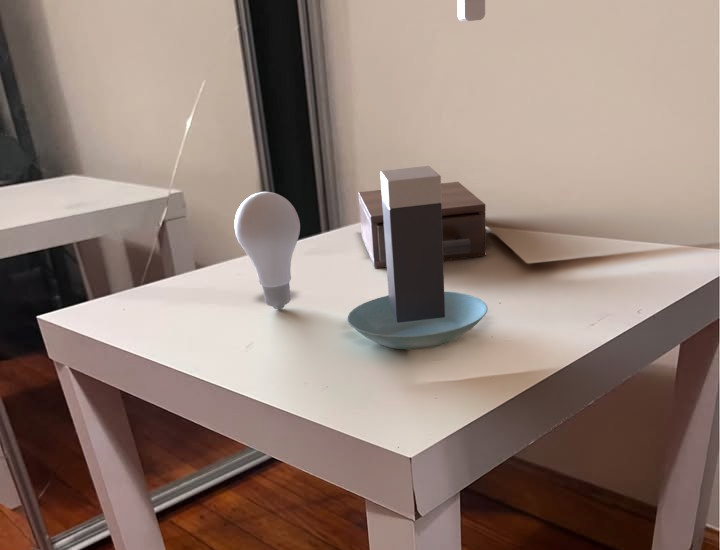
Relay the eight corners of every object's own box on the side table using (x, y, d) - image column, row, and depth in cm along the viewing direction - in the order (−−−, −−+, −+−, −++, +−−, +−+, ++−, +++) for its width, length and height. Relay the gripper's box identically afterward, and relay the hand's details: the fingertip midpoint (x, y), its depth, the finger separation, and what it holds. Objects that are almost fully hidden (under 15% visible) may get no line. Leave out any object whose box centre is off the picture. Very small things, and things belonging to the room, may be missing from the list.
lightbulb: (295, 320, 72) (278, 198, 67) (237, 318, 74) (217, 200, 69) (319, 299, 77) (305, 184, 72) (264, 298, 79) (247, 186, 74)
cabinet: (485, 255, 86) (485, 204, 83) (374, 268, 86) (370, 216, 83) (459, 227, 99) (458, 181, 96) (362, 238, 98) (358, 192, 95)
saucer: (321, 346, 66) (318, 320, 65) (407, 306, 73) (406, 282, 72) (431, 373, 59) (430, 345, 58) (514, 326, 66) (514, 300, 65)
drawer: (491, 260, 81) (491, 223, 79) (384, 271, 81) (382, 235, 79) (458, 224, 96) (457, 192, 94) (367, 234, 96) (365, 202, 94)
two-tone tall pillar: (434, 299, 67) (429, 165, 61) (445, 317, 63) (440, 175, 57) (389, 304, 67) (379, 170, 61) (396, 323, 63) (387, 181, 57)
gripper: (549, -228, 51) (542, 14, 58) (479, -161, 68) (480, 19, 75) (455, -220, 51) (459, 23, 58) (409, -155, 68) (417, 25, 75)
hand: (471, 20), depth 67 cm, fingers closed
